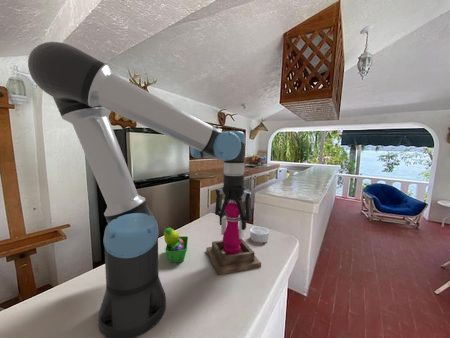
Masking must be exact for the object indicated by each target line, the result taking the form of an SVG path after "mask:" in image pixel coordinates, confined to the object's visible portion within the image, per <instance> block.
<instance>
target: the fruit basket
mask: <svg viewBox="0 0 450 338" xmlns="http://www.w3.org/2000/svg"><path fill="white" fill-rule="evenodd" d="M163 236H164V242H165V244H166V247H165V250H164V251H165V253H166V256H167V259H168V263H179V262H184V261H185V257H186V253H187V250H188V240H189V236H186V235H185V236H181V235H180V233H179V232H178V231H177V230H174V229H173V228H171V227H168V228H167V227H166V228H165V229H164V232H163Z"/></svg>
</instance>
